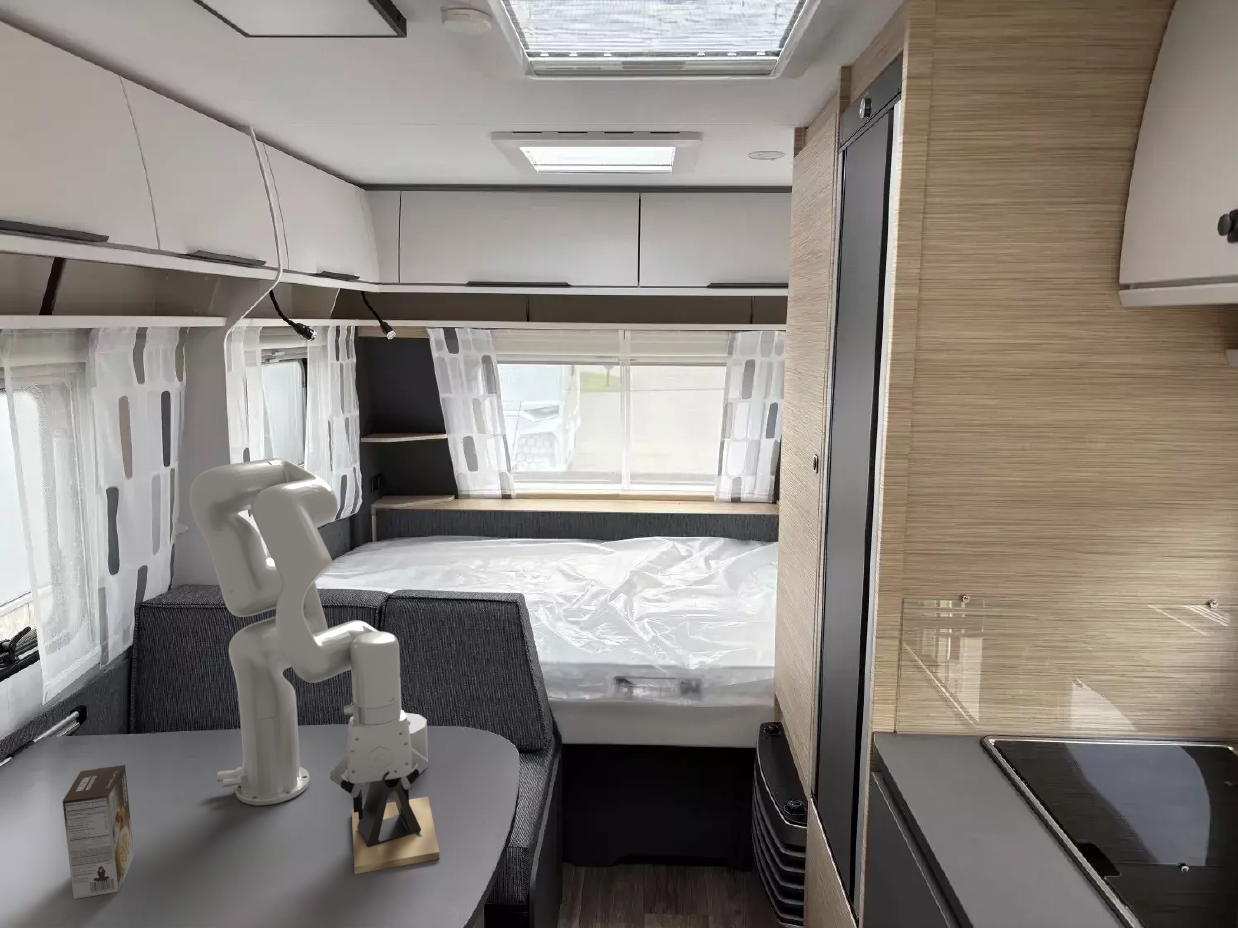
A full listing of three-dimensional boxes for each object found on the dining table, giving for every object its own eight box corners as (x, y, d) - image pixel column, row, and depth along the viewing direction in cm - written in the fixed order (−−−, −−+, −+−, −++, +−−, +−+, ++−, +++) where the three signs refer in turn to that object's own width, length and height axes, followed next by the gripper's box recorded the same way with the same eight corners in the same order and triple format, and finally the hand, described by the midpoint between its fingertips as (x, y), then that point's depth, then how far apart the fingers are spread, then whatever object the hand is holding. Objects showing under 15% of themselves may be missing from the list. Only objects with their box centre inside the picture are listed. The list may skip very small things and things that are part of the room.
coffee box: (89, 863, 137) (80, 768, 134) (135, 856, 139) (126, 763, 136) (71, 900, 128) (61, 800, 126) (120, 892, 130) (110, 793, 128)
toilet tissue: (370, 790, 159) (368, 746, 158) (383, 754, 172) (381, 713, 171) (421, 788, 160) (419, 744, 158) (430, 752, 173) (428, 711, 171)
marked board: (354, 873, 135) (354, 866, 135) (352, 814, 151) (351, 808, 151) (439, 858, 139) (439, 851, 139) (428, 802, 155) (428, 796, 155)
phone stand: (366, 847, 140) (363, 778, 138) (357, 828, 145) (354, 762, 143) (421, 831, 144) (419, 764, 142) (410, 813, 149) (407, 748, 147)
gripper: (320, 726, 135) (326, 833, 138) (434, 712, 140) (437, 815, 143) (321, 706, 142) (326, 807, 145) (429, 693, 147) (432, 791, 150)
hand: (381, 810), depth 144 cm, fingers open, 6 cm apart
